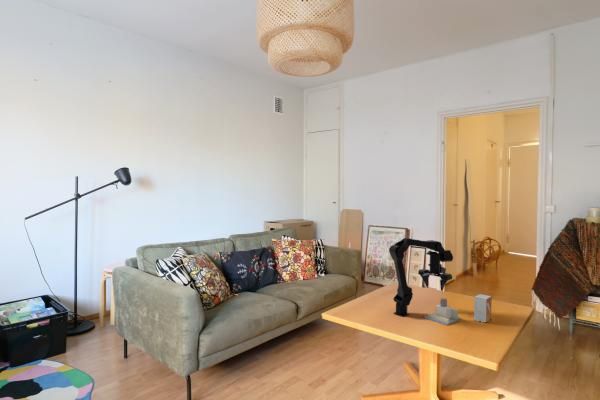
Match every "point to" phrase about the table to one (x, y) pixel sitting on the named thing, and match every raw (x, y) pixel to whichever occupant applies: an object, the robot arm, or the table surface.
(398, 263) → the robot arm
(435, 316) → the cleat board
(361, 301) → the table surface
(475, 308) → the small box
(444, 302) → the block with grey handle
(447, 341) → the table surface
